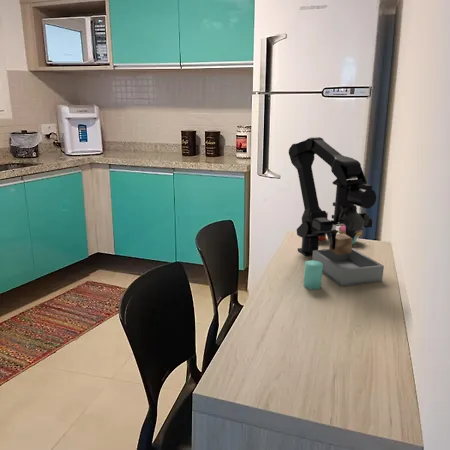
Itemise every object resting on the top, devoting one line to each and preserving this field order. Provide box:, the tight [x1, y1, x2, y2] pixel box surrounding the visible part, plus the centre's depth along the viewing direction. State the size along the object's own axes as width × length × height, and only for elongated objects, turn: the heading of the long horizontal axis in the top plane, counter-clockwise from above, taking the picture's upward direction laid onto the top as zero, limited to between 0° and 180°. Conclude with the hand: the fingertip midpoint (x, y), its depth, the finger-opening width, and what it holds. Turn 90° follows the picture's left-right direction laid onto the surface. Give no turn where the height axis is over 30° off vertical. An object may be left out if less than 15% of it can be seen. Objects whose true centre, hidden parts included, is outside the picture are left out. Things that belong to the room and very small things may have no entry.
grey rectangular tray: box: [311, 247, 385, 288], centre depth 140 cm, size 18×14×5 cm
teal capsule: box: [303, 260, 323, 290], centre depth 129 cm, size 5×5×7 cm
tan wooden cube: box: [328, 233, 353, 255], centre depth 142 cm, size 5×5×5 cm
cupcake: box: [337, 225, 363, 245], centre depth 168 cm, size 9×8×12 cm
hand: (340, 248), depth 142 cm, fingers closed on tan wooden cube, 5 cm apart
